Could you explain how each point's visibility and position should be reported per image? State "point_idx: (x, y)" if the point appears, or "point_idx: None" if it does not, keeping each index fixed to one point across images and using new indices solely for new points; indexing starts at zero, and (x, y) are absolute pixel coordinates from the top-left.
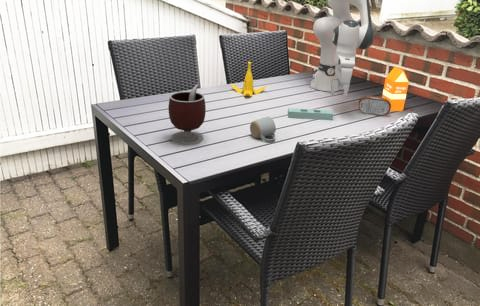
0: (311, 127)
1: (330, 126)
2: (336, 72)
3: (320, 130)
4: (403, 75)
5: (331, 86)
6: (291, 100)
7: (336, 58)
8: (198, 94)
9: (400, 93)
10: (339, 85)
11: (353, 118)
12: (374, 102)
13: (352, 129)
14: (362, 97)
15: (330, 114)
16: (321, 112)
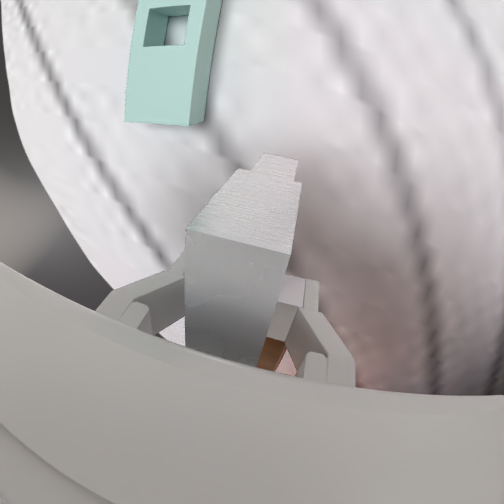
0: (66, 16)
1: (74, 94)
2: (405, 435)
3: (43, 53)
4: None
5: (248, 179)
6: (500, 19)
7: None
8: None
9: None
10: (159, 274)
11: (183, 236)
12: None
13: (63, 182)
14: (271, 366)
15: (127, 104)
16: (143, 50)
